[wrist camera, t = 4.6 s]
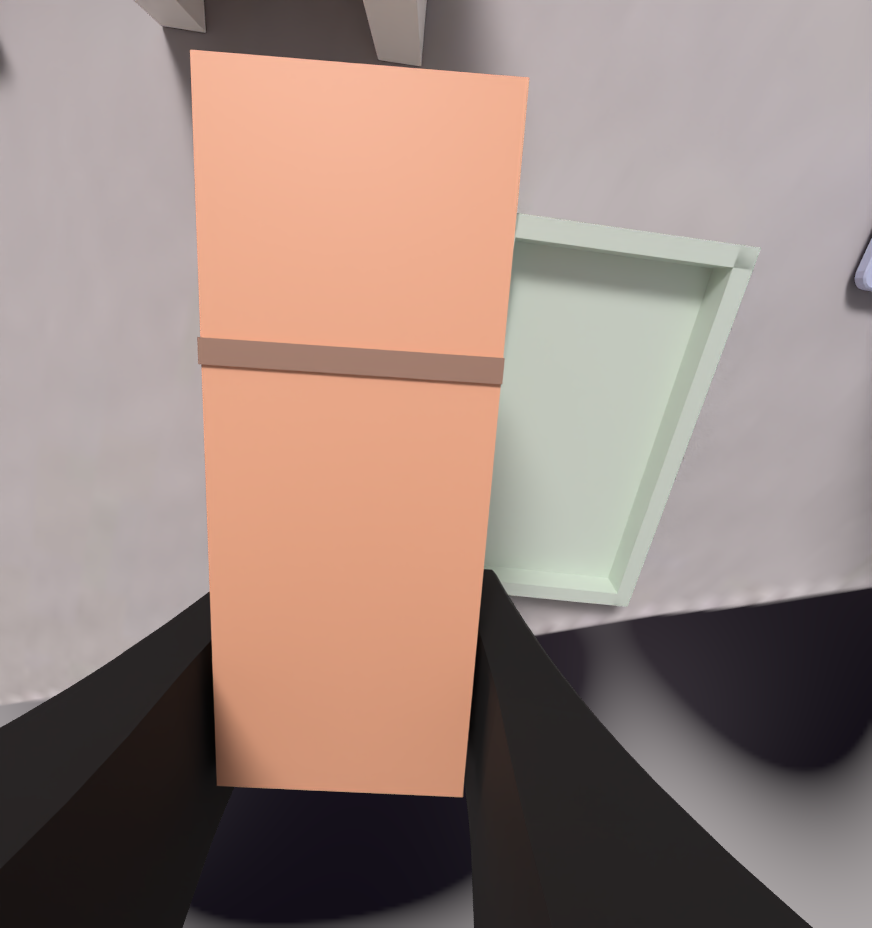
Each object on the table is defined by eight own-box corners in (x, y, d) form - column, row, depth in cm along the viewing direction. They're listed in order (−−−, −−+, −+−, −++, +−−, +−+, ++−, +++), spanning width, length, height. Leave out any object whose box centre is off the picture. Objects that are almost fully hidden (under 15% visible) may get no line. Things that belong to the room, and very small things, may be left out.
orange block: (479, 235, 9) (531, 74, 4) (449, 613, 11) (464, 800, 6) (316, 223, 9) (186, 45, 4) (311, 605, 11) (214, 789, 6)
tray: (728, 250, 14) (761, 247, 12) (613, 583, 19) (627, 606, 18) (491, 217, 14) (498, 210, 12) (439, 565, 19) (440, 588, 17)
